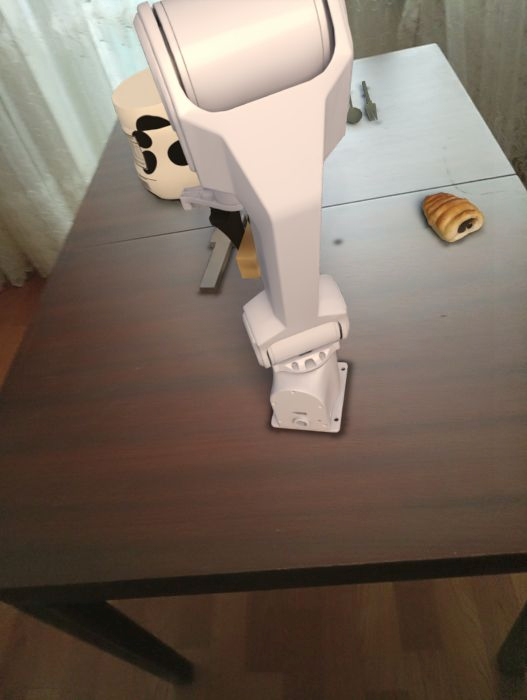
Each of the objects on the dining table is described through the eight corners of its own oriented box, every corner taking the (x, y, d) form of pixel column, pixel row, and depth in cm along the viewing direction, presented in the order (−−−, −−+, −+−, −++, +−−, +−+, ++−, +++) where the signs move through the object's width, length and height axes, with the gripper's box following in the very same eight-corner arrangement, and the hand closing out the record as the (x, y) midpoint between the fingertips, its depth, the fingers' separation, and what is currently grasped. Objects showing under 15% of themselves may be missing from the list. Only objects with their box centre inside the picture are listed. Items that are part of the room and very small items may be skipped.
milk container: (246, 152, 96) (220, 53, 82) (218, 209, 87) (184, 109, 73) (167, 155, 102) (131, 63, 88) (133, 209, 92) (86, 116, 78)
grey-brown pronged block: (224, 292, 74) (221, 287, 73) (194, 292, 75) (191, 287, 74) (248, 220, 83) (246, 214, 82) (221, 221, 85) (219, 215, 84)
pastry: (409, 213, 76) (410, 192, 73) (448, 196, 76) (450, 174, 73) (447, 247, 70) (449, 225, 67) (488, 228, 70) (492, 206, 68)
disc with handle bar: (253, 213, 72) (248, 192, 70) (288, 212, 71) (284, 191, 68) (232, 278, 65) (224, 258, 62) (270, 278, 64) (264, 257, 61)
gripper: (298, 130, 55) (313, 226, 65) (179, 140, 59) (211, 229, 70) (286, 168, 51) (305, 264, 62) (159, 176, 55) (197, 265, 66)
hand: (254, 248), depth 65 cm, fingers closed on disc with handle bar, 2 cm apart
